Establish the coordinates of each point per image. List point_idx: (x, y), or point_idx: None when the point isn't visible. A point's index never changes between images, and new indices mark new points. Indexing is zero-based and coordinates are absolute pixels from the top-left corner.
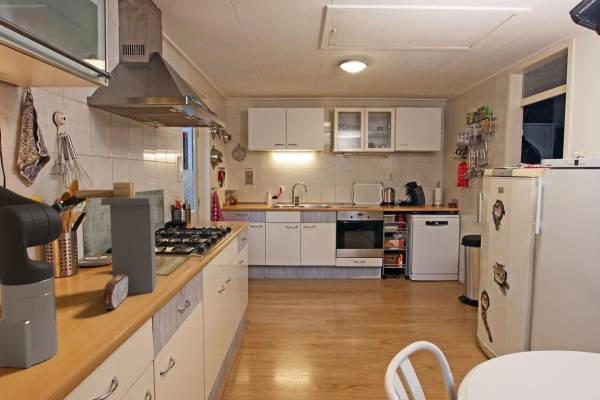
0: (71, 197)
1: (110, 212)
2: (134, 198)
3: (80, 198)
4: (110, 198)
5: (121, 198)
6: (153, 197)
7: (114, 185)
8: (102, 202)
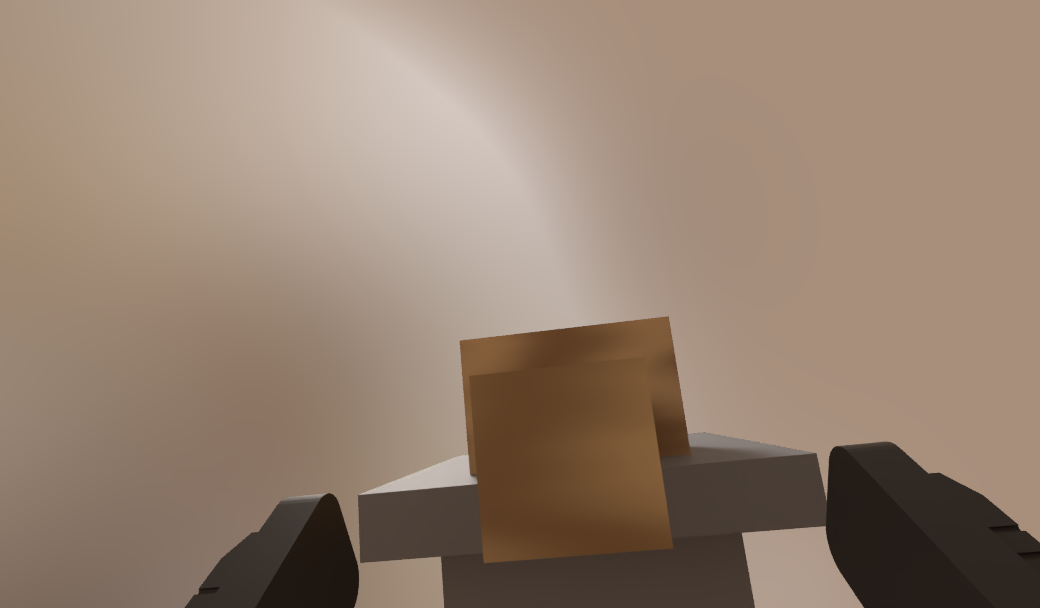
0: (925, 487)
1: (752, 601)
2: (725, 436)
3: (306, 606)
4: (732, 452)
5: (732, 443)
6: None
7: (669, 340)
8: (817, 491)
